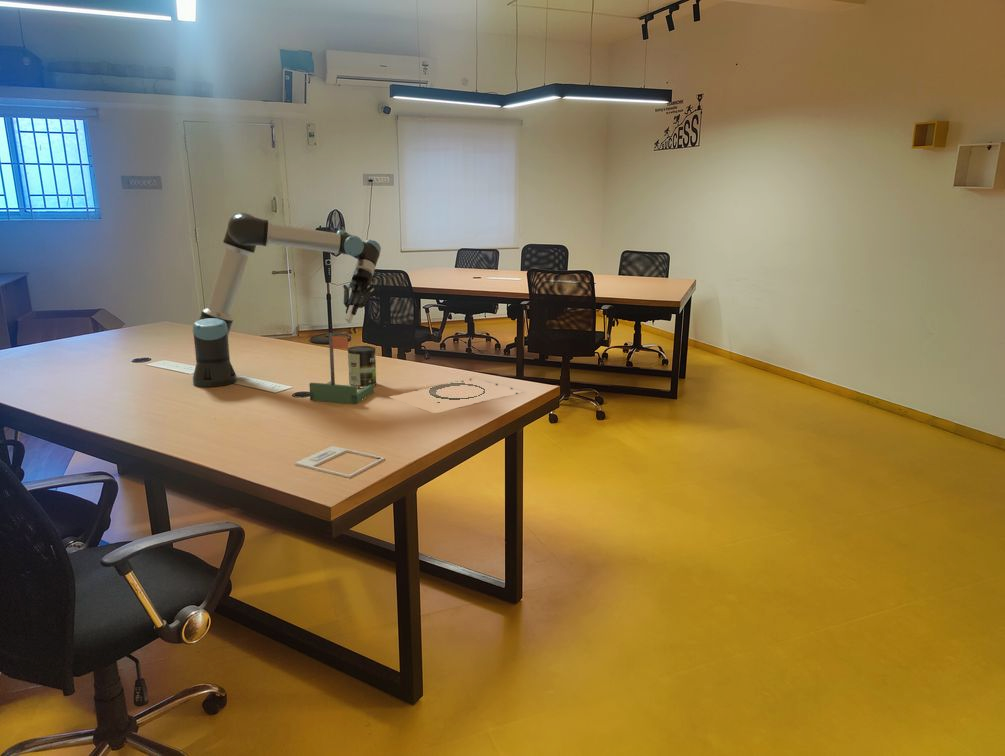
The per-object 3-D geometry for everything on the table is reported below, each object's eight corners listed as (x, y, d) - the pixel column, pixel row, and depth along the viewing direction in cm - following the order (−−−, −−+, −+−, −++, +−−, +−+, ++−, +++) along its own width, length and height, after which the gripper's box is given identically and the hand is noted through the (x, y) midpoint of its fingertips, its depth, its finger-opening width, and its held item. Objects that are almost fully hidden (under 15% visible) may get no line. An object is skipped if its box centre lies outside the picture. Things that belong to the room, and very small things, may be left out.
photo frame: (332, 445, 185) (385, 457, 177) (332, 449, 185) (385, 460, 177) (294, 462, 172) (349, 475, 164) (295, 466, 172) (349, 479, 165)
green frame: (331, 389, 244) (328, 324, 238) (374, 392, 241) (372, 327, 235) (310, 400, 230) (306, 332, 224) (355, 404, 226) (353, 335, 220)
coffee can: (379, 381, 256) (378, 345, 253) (373, 388, 246) (372, 351, 243) (352, 381, 256) (351, 345, 253) (345, 388, 246) (344, 350, 243)
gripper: (381, 279, 271) (366, 327, 259) (351, 279, 273) (336, 325, 262) (375, 267, 264) (360, 315, 253) (345, 267, 267) (329, 314, 255)
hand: (348, 320), depth 257 cm, fingers closed
